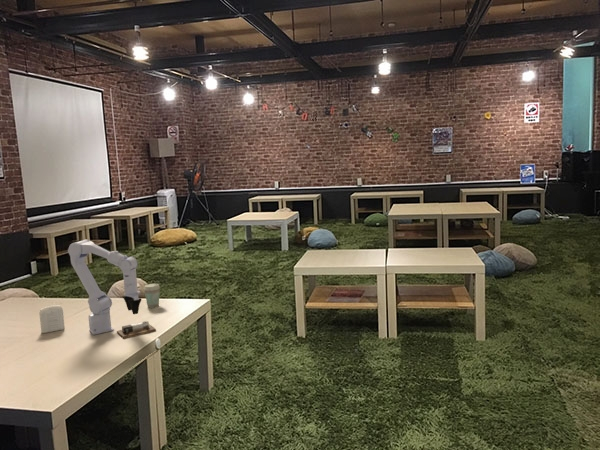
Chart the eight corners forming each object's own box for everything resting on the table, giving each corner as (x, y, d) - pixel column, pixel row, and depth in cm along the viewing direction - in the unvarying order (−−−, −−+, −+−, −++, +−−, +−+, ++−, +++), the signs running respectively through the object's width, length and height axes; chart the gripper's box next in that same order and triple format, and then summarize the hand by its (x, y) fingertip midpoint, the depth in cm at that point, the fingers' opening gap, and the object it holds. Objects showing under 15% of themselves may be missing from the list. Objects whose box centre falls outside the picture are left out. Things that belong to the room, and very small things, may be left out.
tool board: (123, 338, 229) (122, 332, 228) (117, 332, 237) (116, 326, 237) (155, 330, 237) (155, 324, 237) (148, 325, 246) (148, 319, 245)
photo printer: (64, 327, 249) (61, 302, 248) (65, 329, 246) (62, 304, 244) (40, 331, 244) (37, 307, 242) (42, 334, 240) (39, 309, 238)
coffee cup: (151, 309, 272) (149, 288, 270) (142, 307, 277) (140, 286, 275) (164, 305, 278) (162, 284, 277) (155, 303, 284) (153, 282, 282)
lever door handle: (124, 333, 232) (123, 328, 232) (122, 331, 235) (121, 326, 235) (150, 327, 239) (149, 322, 239) (147, 326, 242) (147, 320, 241)
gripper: (144, 284, 232) (146, 313, 233) (134, 279, 243) (136, 306, 245) (128, 287, 228) (131, 316, 229) (119, 281, 240) (122, 309, 241)
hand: (133, 311), depth 237 cm, fingers open, 7 cm apart
